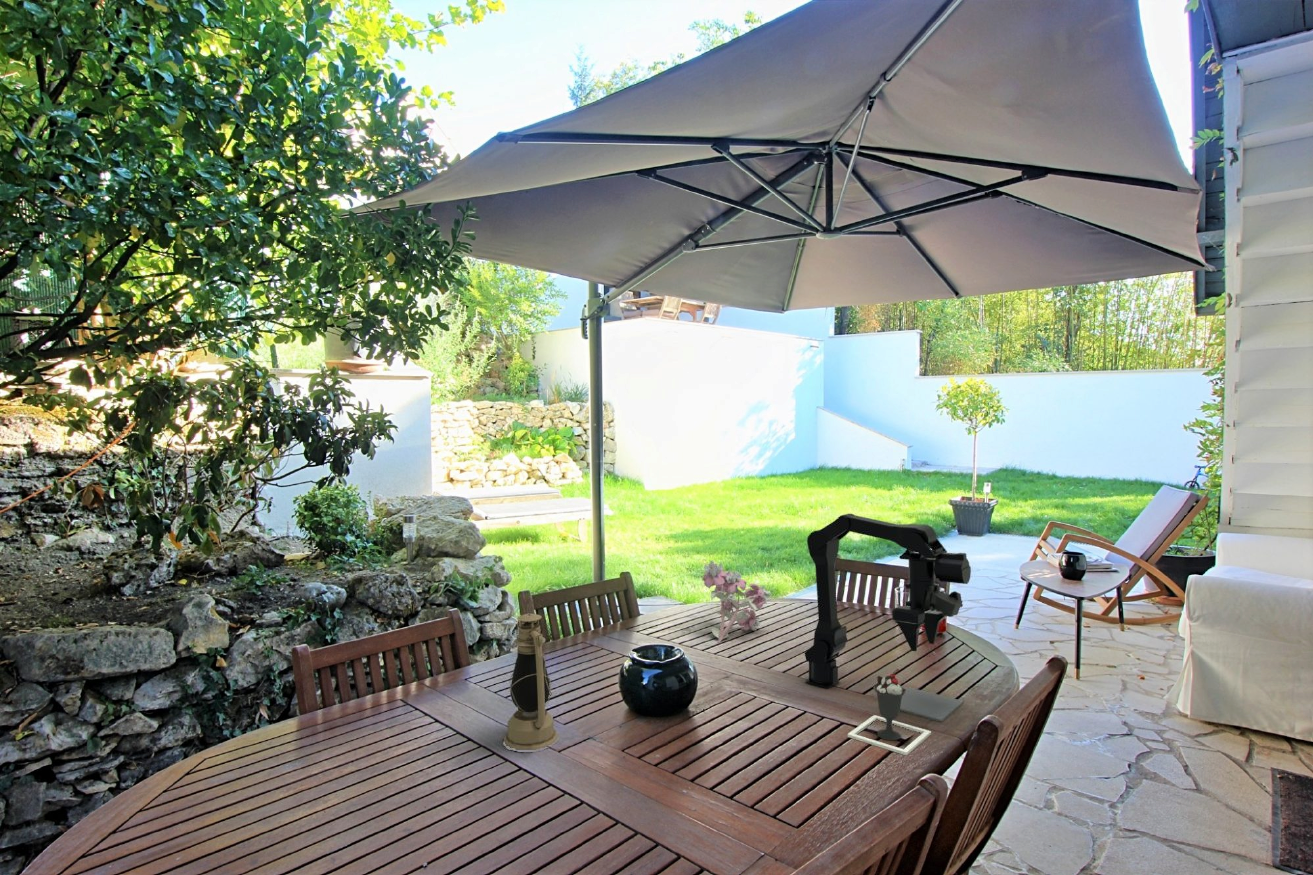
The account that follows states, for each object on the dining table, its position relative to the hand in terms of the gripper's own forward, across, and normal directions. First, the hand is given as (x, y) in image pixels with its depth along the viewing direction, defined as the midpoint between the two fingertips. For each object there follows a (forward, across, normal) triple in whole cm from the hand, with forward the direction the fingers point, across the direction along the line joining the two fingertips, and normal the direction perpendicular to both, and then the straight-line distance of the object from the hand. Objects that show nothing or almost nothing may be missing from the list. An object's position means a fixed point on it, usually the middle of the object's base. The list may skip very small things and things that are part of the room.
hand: (923, 647), depth 170 cm
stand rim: (+16, -16, 0) cm, 23 cm away
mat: (+15, +4, +2) cm, 16 cm away
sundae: (+16, -16, 0) cm, 23 cm away
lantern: (+16, -72, +54) cm, 91 cm away
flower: (+11, +18, +69) cm, 72 cm away
